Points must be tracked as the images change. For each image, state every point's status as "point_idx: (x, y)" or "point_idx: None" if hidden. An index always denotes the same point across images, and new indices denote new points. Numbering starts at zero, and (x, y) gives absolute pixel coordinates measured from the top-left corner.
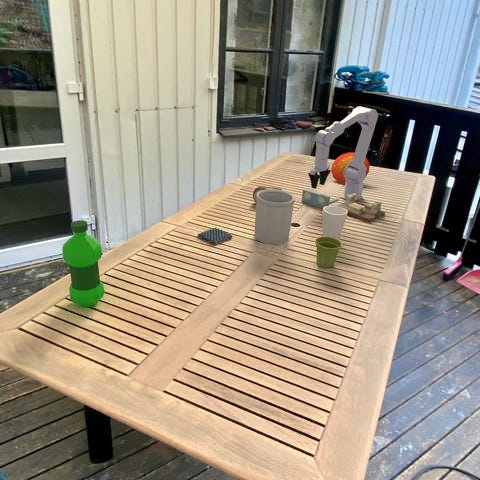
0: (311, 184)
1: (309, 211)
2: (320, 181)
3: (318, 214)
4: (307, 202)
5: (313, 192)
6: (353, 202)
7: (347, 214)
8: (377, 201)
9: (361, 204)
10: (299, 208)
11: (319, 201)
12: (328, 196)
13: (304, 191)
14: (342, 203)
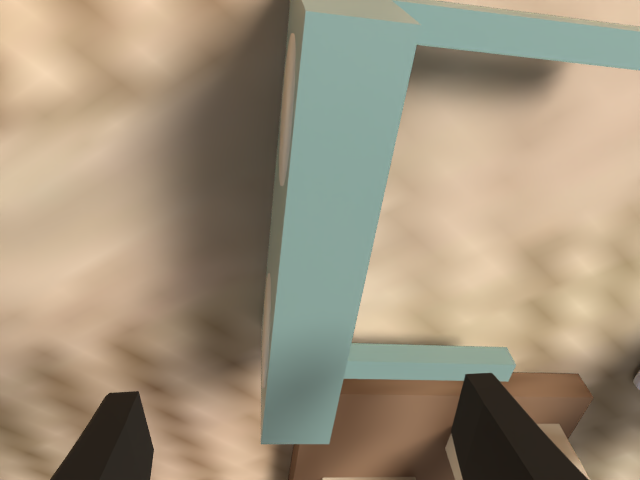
0: (65, 465)
1: (53, 257)
2: (488, 432)
3: (78, 347)
4: (282, 93)
5: (305, 248)
6: None
7: (290, 472)
8: None
9: None
10: (5, 126)
11: (266, 301)
12: (314, 433)
13: (297, 53)
14: None
